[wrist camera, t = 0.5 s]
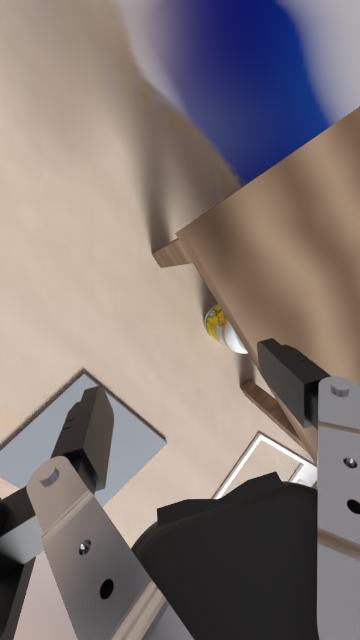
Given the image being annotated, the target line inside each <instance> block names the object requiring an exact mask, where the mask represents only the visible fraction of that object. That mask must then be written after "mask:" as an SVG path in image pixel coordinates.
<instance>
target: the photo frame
mask: <svg viewBox="0 0 360 640" xmlns="http://www.w3.org/2000/svg"><path fill="white" fill-rule="evenodd" d="M260 440H263V441H265V442H267V443H268V444H270V445H272V446H273V447H275V448H277V449H279V450H280V451H282V452H284V453H285V454H287V455H289V456H291V457H292V458H294V459H296V460H297V461H299V462H301V465H300V466H299V467H298V469H297V470H296V472H295V473H294V475H293V476H292V477H291V479H290V480H289V482H294V483H299V484H303V485H306V486H309V487H312V486H313V485H314V483H315V482H316V480H317V467H316V466H314V465H312V464H311V463H309V462H307V461H306V460H304V459H302V458H301V457H299V456H297V455H296V454H294V453H292V452H290V451H289V450H287V449H285V448H284V447H282V446H280V445H279V444H277V443H275V442H274V441H272V440H270V439H269V438H267V437H265V436H264V435H262V434H260V433H258V435H257V436H256V438H255V439H254V440H253V442H252V443H251V445H250V446H249V448H248V449H247V450H246V452H245V453H244V455H243V456H242V458H241V459H240V460H239V462H238V463H237V465H236V466H235V468H234V469H233V470H232V472H231V473H230V475H229V476H228V478H227V479H226V480H225V482H224V483H223V485H222V486H221V488H220V489H219V490H218V492H217V493H216V495H215V496H214V498H213V499H219V498H220V497H221V496H222V494H223V493H224V491H225V490H226V489H227V487H228V486H229V484H230V483H231V482H232V480H233V479H234V477H235V476H236V474H237V473H238V472H239V470H240V469H241V467H242V466H243V464H244V463H245V462H246V460H247V459H248V457H249V456H250V454H251V453H252V452H253V450H254V449H255V447H256V446H257V444H258V443H259V442H260Z"/></svg>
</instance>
